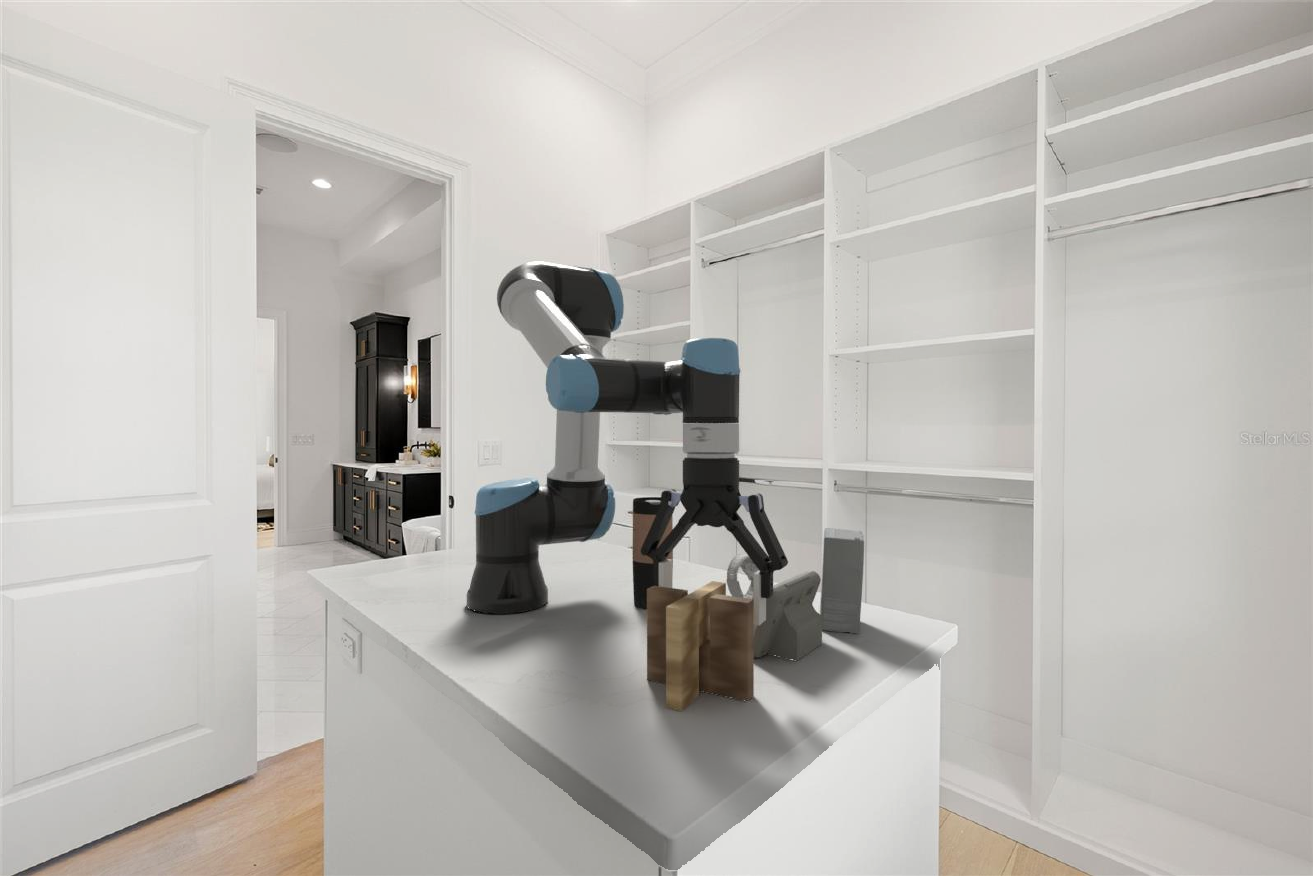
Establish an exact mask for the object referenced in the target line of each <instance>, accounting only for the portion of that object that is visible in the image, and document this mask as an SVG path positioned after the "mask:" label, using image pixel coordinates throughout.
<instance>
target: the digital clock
mask: <svg viewBox="0 0 1313 876" xmlns="http://www.w3.org/2000/svg"><path fill="white" fill-rule="evenodd" d="M821 582H822V578H821V577H820V575H819V573H818V572H817V571H814V570H813V571H812V570H811V571H810V570H809V571H805V572H802V573H800V574H798V575H795V576H791V577H790V578H788V579H785V580H783V581H781V582H778V583H776V584H773V594H772V596H771V597H770V598H768V599H767V598H766V620H765V621H764V622H763V623H762V624H761V625H759V626H758V625H754V658H761V657H763V656H765V655H769V654H770V655H769V656H773V655H776V656H775V657H777V656H780V657H779V658H781V657H783V658H782V659H785V658H787V659H786V660H789V659H793V660H797V661H796V662H798V661H800V660H801V659H802V658H804V657H805V656H807V655H808V654H809V653H811V652H812V651H814V650H815V649H817V648H818V647H820V646H821V645H822V644H823V630H822V618H821V615H820V612H817V611H816V609H815V607H814V605H813V604H814V600H815V598H816V595H817V593H818V589H819V587H820V584H821ZM793 660H792V661H793Z"/></svg>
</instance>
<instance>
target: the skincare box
mask: <svg viewBox="0 0 1313 876" xmlns="http://www.w3.org/2000/svg"><path fill="white" fill-rule="evenodd" d="M864 537H865V535H864V534H863V532H862V530H855V529H854V530H852V529H851V530H850V529H843V528H842V529H841V528H831V527H830V528H829V527H828V528H824V532H823V546H822V547H823V553H822V568H821V569H822V571H821V572H822V573H821V588H820V589H821V591H820V602H819V603H820V605H819V614H820V615H821V618H822V631H826V632H837V633H843V632H850V633H849V634H853V633H857V634H856V635H859V634H860V633H861V632H860V631H861V629H860V628H861V612H862V597H863V583H864V582H863V581H864V580H863V579H864V564H865V541H864Z"/></svg>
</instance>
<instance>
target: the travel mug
mask: <svg viewBox="0 0 1313 876" xmlns="http://www.w3.org/2000/svg"><path fill="white" fill-rule="evenodd" d="M660 503H661V496H660V497H659V496H648V497H647V496H644V497H637V498H636V497H635V498H633V500H632V581H633V582H632V586H633V589H632V591H633V605H634V607H636V608H637V609H640V610H645V611H647V589H648V588H650V587H652V586H659V584H655V583H654V580H653V576H654V575H653V573H654V572H653V560H652V559H651V558H650V557H648V556H644V555H642V554H641V548H642V545H643V543H644V541H645V539H646V537H647V534H648V532H649V530H650V528H651V526H652V523H653V521H654V519H655V517H656V515H657V512H658V510H659V508H660ZM673 528H674V526H673V515H672V516H671V519H670V521H669V523H668V525H667V527H666V530H665V532H664V534H663V536H662V538H661V540H660V543H659V545H658V547H659V546H660V544H661V543H662V542H663V541H664V540H665V538H666V537H667V536H668V535H669V533H670V532H671V531H672V530H673ZM658 547H657V548H658ZM668 556H669V557H667V558H666V560H667V559H671V560H672V576H673V571H674V549H673V550H672V551H671V552H670V554H669V555H668Z"/></svg>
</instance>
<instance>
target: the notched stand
mask: <svg viewBox="0 0 1313 876" xmlns="http://www.w3.org/2000/svg"><path fill="white" fill-rule="evenodd" d="M688 591H689V589H681V588H673V587H672V588H668V587H660V586H652V587H650V588H648V589H647V610H646V680H647V681H651V682H656V683H660V684H665V685H666V607H667V606H668V605H670V604H672V603H674V602H676V601H677V600H679V599H681V598H683V597H685V596H687V595H688V594H689V592H688ZM754 658H755V657H754V599H750V598H742V597H735V596H732V595H728V594H726V595H720V594H715V595H714V596H712V597H710V640H707V641H706V642H705V643H703V644H702V645H701V646H700V647H699V692H701V691H704V692H703V693H705V692H708V693H707V694H710V693H713V694H712V695H714V694H717V695H716V696H719V695H721V696H720V697H724V696H727V697H726V698H728V697H732V698H731V699H733V698H735V699H734V700H737V699H739V700H738V701H742V700H745V701H744V702H746V701H748V702H749V701H750V700H751V699H752V698H753V697H754V693H755V692H754V691H755V689H754V688H755V687H754V682H755V681H754V680H755V679H754V678H755V677H754V676H755V675H754V669H755V668H754V663H755V661H754V660H755V659H754ZM752 696H753V697H752ZM751 697H752V698H751Z"/></svg>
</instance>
